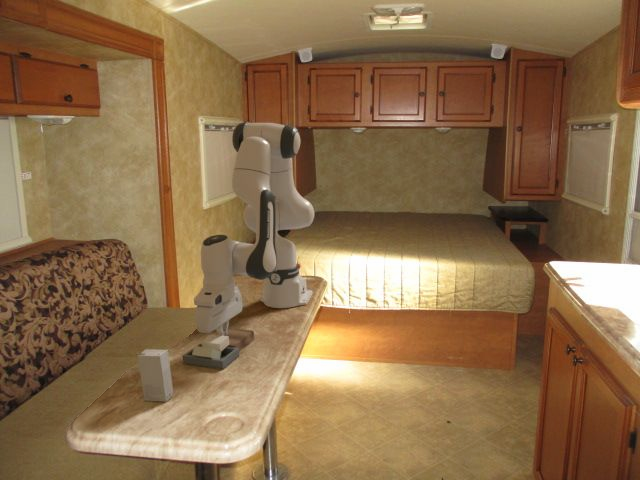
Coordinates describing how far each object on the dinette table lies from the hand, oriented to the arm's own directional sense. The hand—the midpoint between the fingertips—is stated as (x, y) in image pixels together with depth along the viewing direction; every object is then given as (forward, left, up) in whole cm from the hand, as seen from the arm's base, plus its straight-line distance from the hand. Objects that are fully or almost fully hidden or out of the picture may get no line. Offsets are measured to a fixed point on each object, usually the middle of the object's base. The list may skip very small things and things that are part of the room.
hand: (222, 336), depth 154 cm
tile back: (+4, 0, -2) cm, 4 cm away
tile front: (+8, 0, -1) cm, 8 cm away
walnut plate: (-4, 0, -5) cm, 6 cm away
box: (+7, 0, -5) cm, 8 cm away
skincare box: (+29, -1, -5) cm, 30 cm away
